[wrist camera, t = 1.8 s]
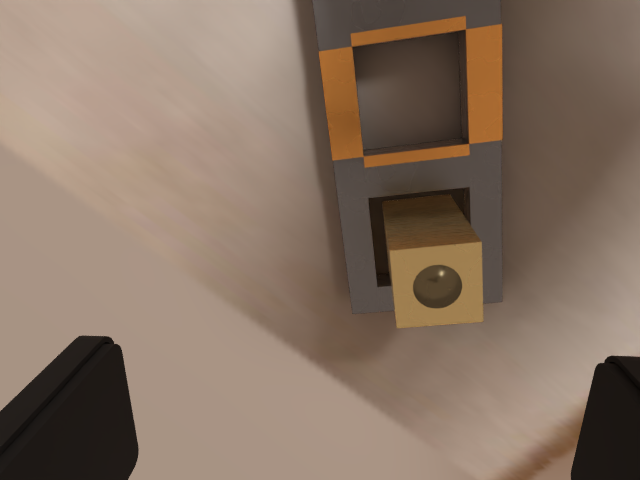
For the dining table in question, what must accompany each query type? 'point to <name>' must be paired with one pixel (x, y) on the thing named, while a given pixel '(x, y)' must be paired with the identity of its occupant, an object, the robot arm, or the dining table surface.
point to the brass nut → (432, 262)
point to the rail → (424, 158)
